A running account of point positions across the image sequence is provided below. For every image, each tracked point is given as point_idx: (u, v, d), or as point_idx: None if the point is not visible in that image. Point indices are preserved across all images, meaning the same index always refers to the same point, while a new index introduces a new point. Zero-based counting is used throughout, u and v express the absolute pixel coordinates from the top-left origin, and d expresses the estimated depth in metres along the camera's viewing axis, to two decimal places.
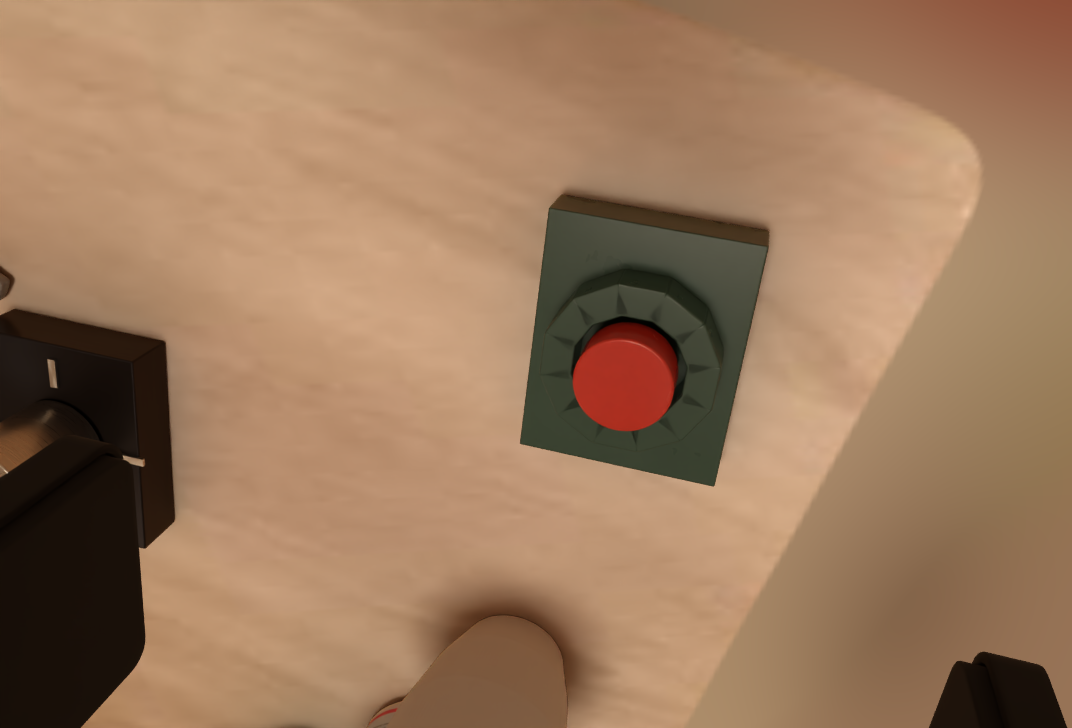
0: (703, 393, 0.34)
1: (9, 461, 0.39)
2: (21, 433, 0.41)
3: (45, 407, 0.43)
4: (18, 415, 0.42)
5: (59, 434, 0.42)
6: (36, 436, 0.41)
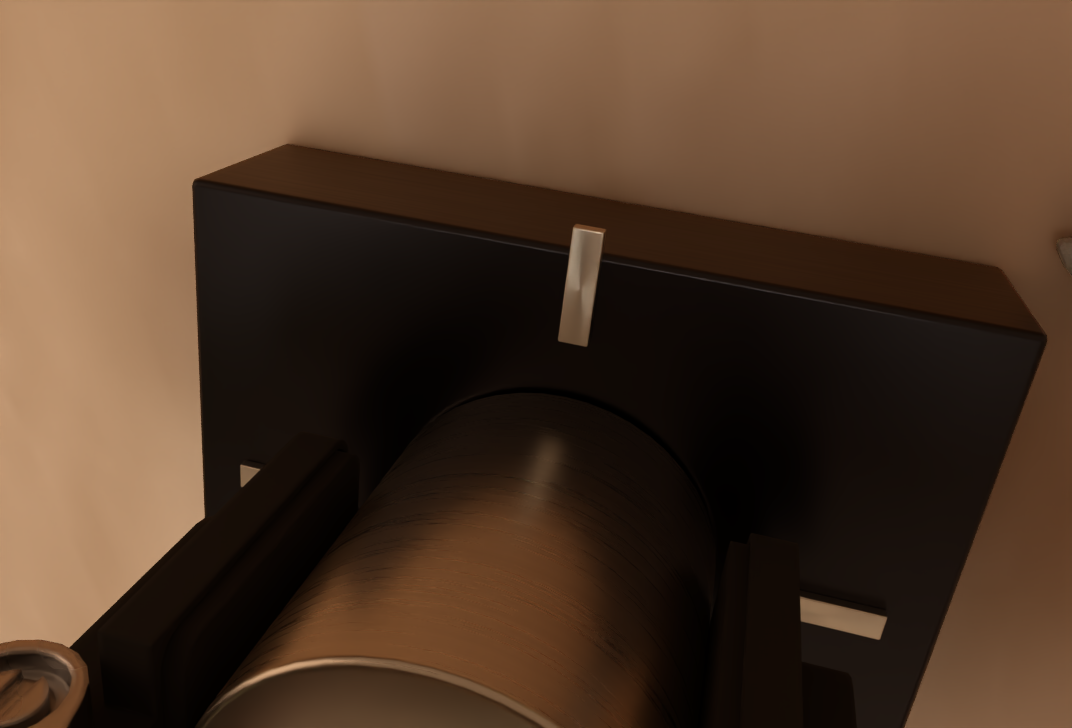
0: None
1: None
2: None
3: None
4: (705, 623, 0.10)
5: None
6: None
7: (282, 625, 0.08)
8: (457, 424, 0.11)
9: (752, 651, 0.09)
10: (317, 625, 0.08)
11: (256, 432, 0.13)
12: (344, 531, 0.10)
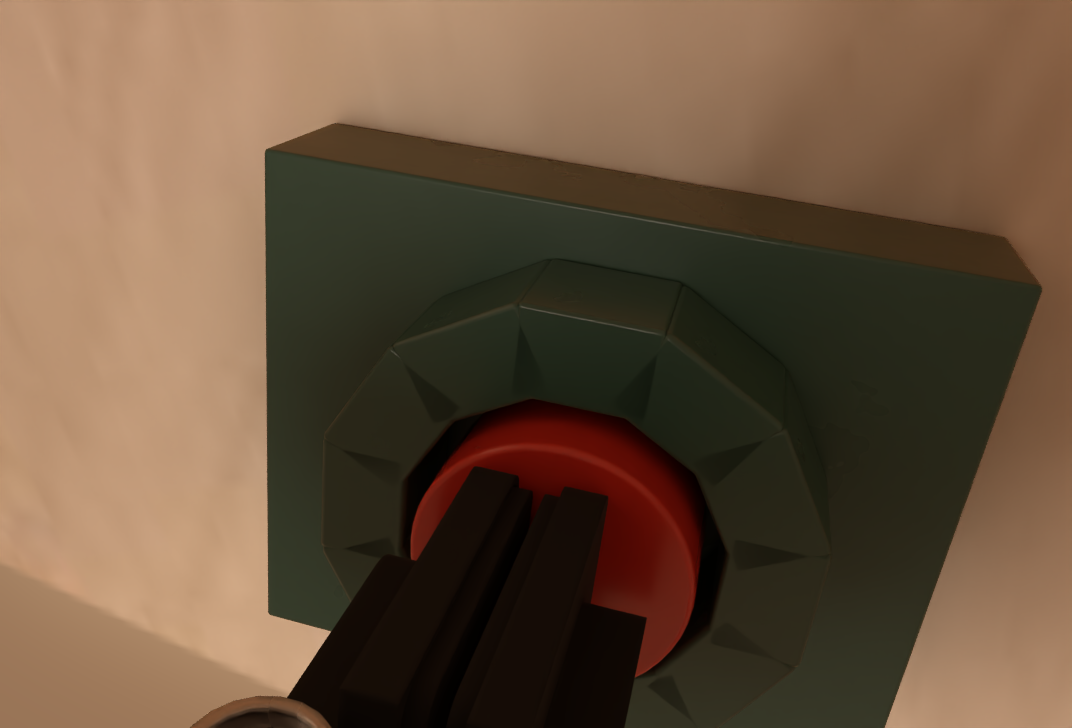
0: None
1: None
2: None
3: None
4: None
5: None
6: None
7: None
8: None
9: (529, 589, 0.09)
10: None
11: None
12: None
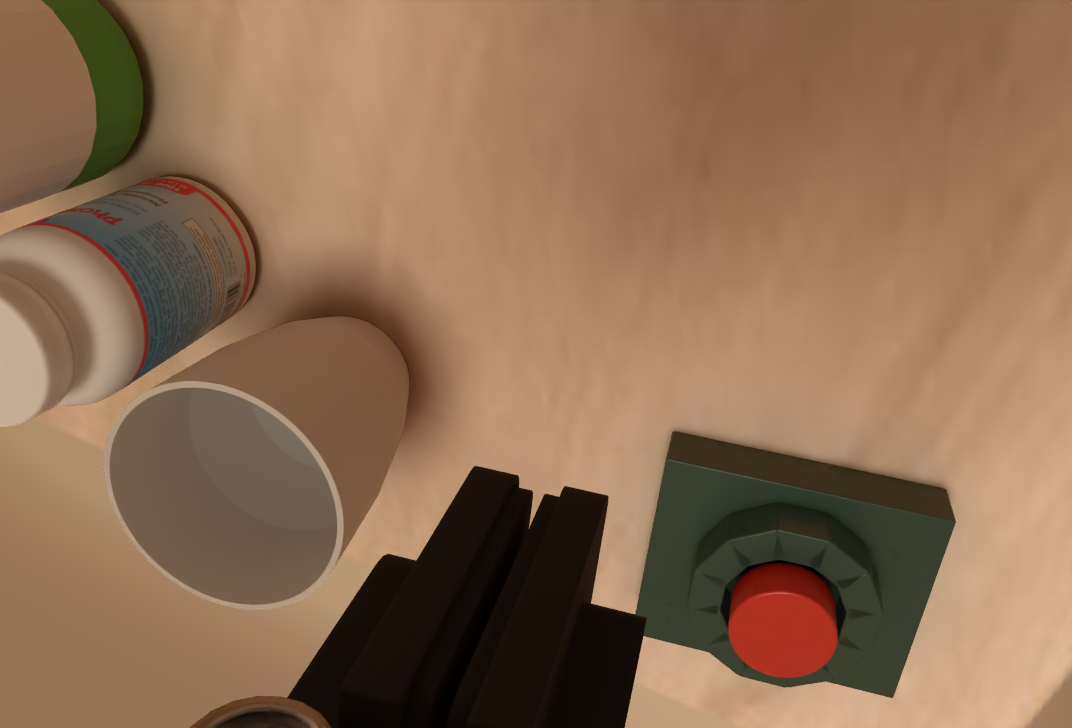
0: (757, 671, 0.35)
1: None
2: None
3: None
4: None
5: None
6: None
7: None
8: None
9: (529, 589, 0.09)
10: None
11: None
12: None
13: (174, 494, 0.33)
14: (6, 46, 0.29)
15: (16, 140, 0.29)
